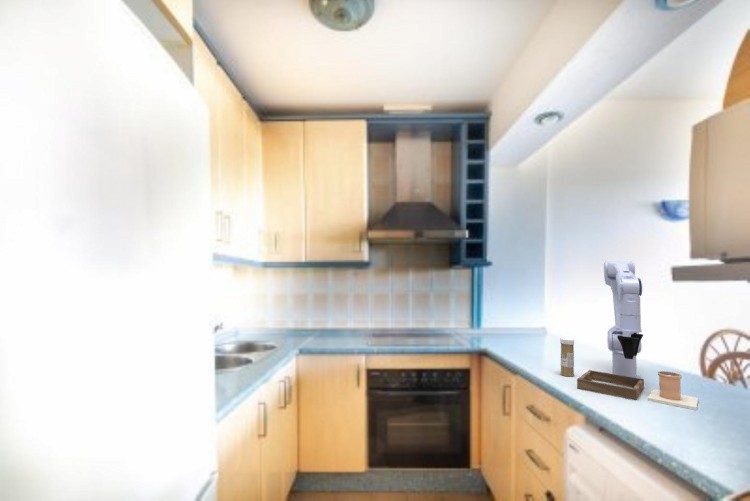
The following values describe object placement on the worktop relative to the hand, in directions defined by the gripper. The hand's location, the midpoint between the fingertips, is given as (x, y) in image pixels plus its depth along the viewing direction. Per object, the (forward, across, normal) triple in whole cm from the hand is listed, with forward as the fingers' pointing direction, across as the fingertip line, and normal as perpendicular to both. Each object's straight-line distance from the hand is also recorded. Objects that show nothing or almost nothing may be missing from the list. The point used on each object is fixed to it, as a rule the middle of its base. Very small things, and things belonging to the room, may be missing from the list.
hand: (630, 357), depth 123 cm
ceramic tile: (+10, +4, +11) cm, 15 cm away
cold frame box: (+10, +4, -5) cm, 12 cm away
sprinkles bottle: (+10, -4, -20) cm, 23 cm away
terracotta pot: (+10, +4, +10) cm, 15 cm away
